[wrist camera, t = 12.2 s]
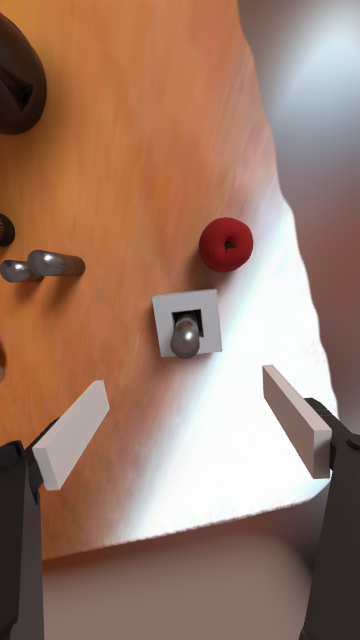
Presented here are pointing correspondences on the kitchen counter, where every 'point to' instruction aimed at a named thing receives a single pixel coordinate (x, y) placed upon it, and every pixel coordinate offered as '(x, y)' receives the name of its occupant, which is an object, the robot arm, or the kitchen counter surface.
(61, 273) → the medium pin
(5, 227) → the coffee mug
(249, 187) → the kitchen counter surface
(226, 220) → the apple
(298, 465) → the kitchen counter surface
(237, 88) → the kitchen counter surface
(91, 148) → the kitchen counter surface
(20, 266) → the short pin
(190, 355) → the long pin
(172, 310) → the hole block
